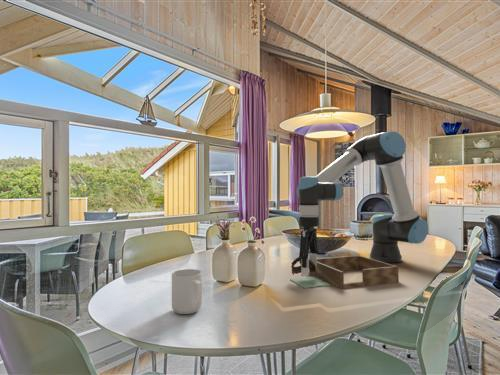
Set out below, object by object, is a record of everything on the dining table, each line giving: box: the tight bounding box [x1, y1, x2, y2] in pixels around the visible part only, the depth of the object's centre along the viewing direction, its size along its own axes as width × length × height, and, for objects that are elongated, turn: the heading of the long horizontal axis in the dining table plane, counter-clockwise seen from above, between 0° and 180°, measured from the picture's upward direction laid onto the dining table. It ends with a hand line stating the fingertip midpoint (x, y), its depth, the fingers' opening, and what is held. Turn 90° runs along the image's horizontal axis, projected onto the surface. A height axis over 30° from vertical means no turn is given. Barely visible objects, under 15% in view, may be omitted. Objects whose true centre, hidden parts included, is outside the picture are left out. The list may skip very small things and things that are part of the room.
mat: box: [289, 275, 331, 289], centre depth 123 cm, size 11×12×1 cm
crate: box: [309, 255, 400, 290], centre depth 130 cm, size 26×24×6 cm
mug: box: [171, 268, 203, 315], centre depth 94 cm, size 12×9×11 cm
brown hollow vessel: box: [290, 256, 317, 277], centre depth 125 cm, size 12×9×8 cm
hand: (309, 272), depth 123 cm, fingers closed on brown hollow vessel, 10 cm apart
